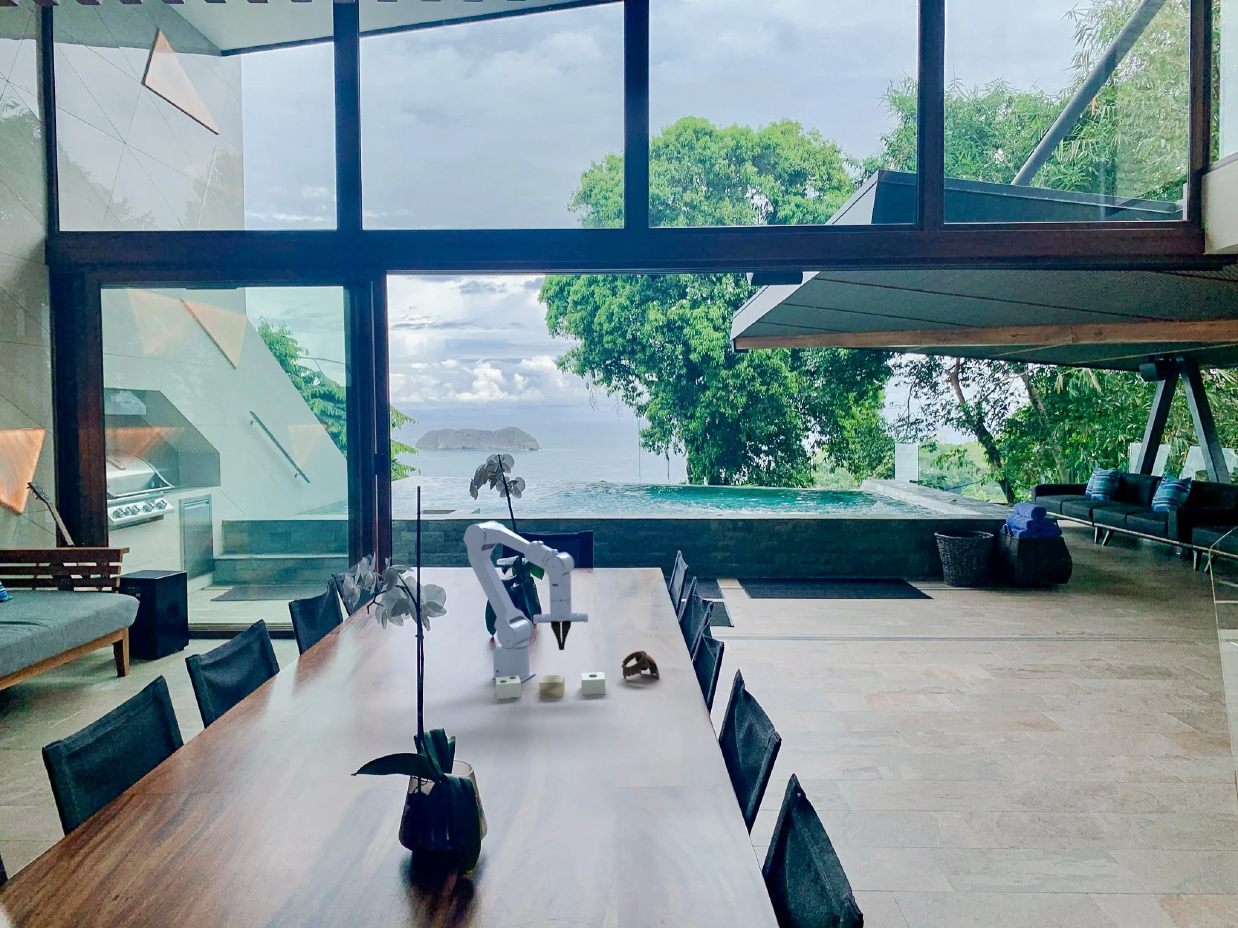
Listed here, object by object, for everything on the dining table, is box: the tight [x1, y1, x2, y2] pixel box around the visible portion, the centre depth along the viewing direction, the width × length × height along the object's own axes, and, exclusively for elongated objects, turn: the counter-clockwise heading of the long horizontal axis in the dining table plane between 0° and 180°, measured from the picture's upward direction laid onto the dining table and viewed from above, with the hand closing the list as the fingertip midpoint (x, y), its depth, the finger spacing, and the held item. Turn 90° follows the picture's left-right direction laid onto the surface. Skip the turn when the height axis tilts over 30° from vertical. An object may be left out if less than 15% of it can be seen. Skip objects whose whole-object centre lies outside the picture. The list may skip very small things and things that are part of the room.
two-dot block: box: [495, 676, 522, 700], centre depth 221 cm, size 6×6×4 cm
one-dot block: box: [580, 671, 606, 695], centre depth 222 cm, size 6×6×4 cm
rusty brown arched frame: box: [621, 650, 660, 680], centre depth 233 cm, size 12×10×8 cm
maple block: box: [538, 674, 566, 698], centre depth 221 cm, size 6×6×4 cm
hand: (561, 648), depth 228 cm, fingers closed
